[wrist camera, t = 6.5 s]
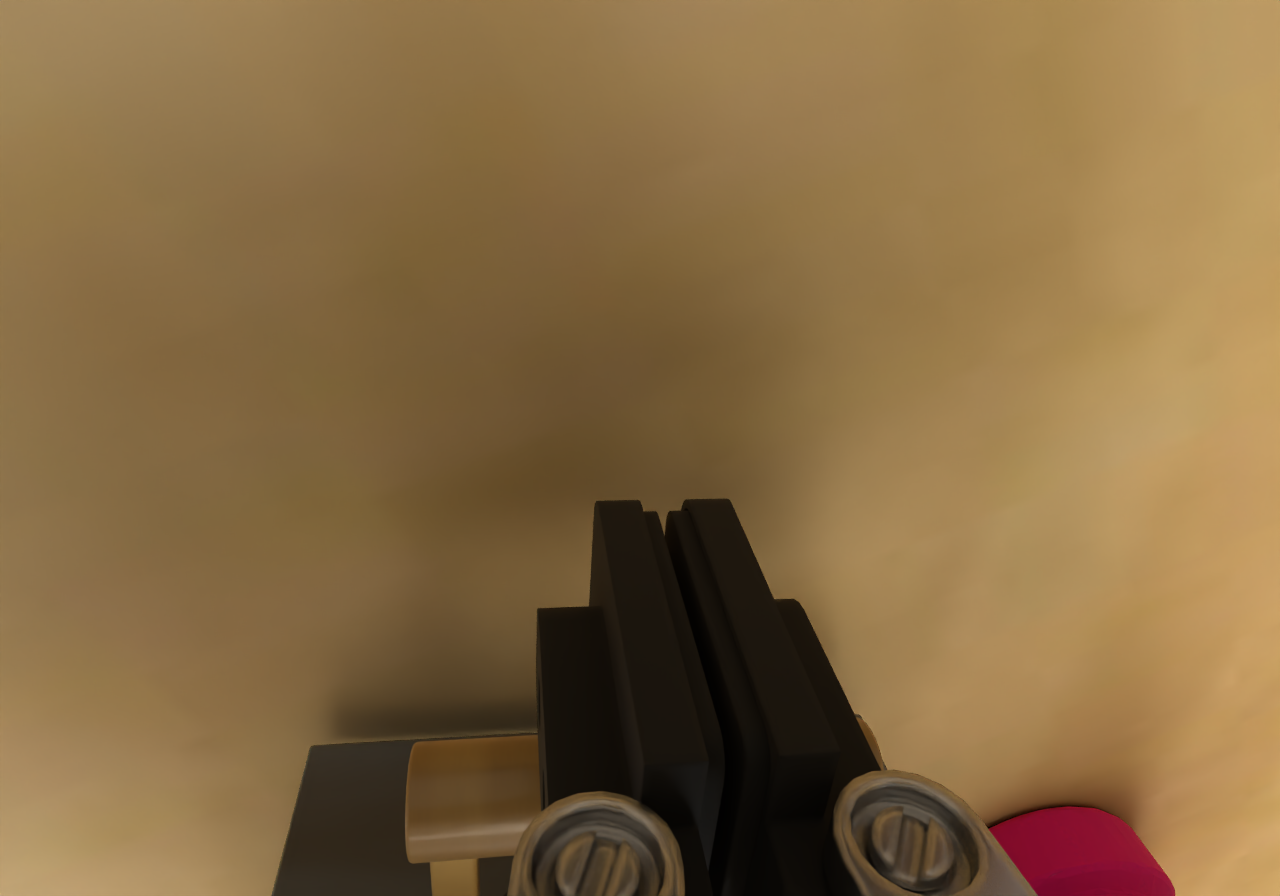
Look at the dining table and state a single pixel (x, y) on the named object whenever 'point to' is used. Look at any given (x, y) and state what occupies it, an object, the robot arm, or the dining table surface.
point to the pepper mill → (1081, 854)
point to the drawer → (416, 816)
